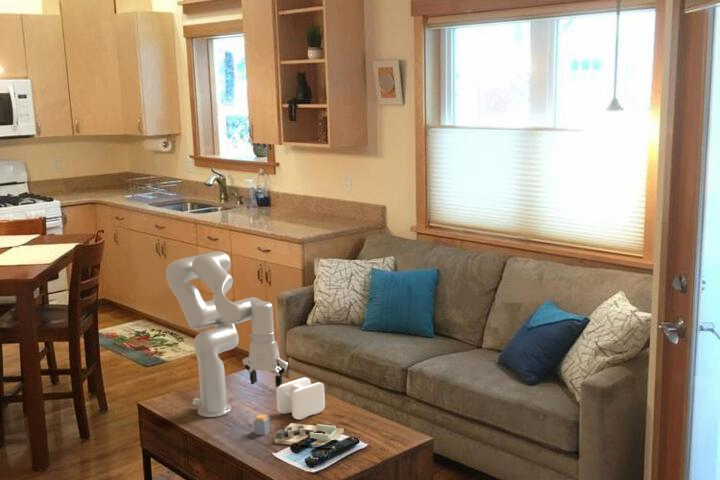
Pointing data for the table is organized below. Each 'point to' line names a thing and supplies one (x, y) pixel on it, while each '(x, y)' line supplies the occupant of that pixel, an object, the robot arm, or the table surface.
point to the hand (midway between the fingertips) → (266, 384)
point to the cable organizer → (300, 398)
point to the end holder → (325, 429)
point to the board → (309, 427)
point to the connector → (261, 424)
